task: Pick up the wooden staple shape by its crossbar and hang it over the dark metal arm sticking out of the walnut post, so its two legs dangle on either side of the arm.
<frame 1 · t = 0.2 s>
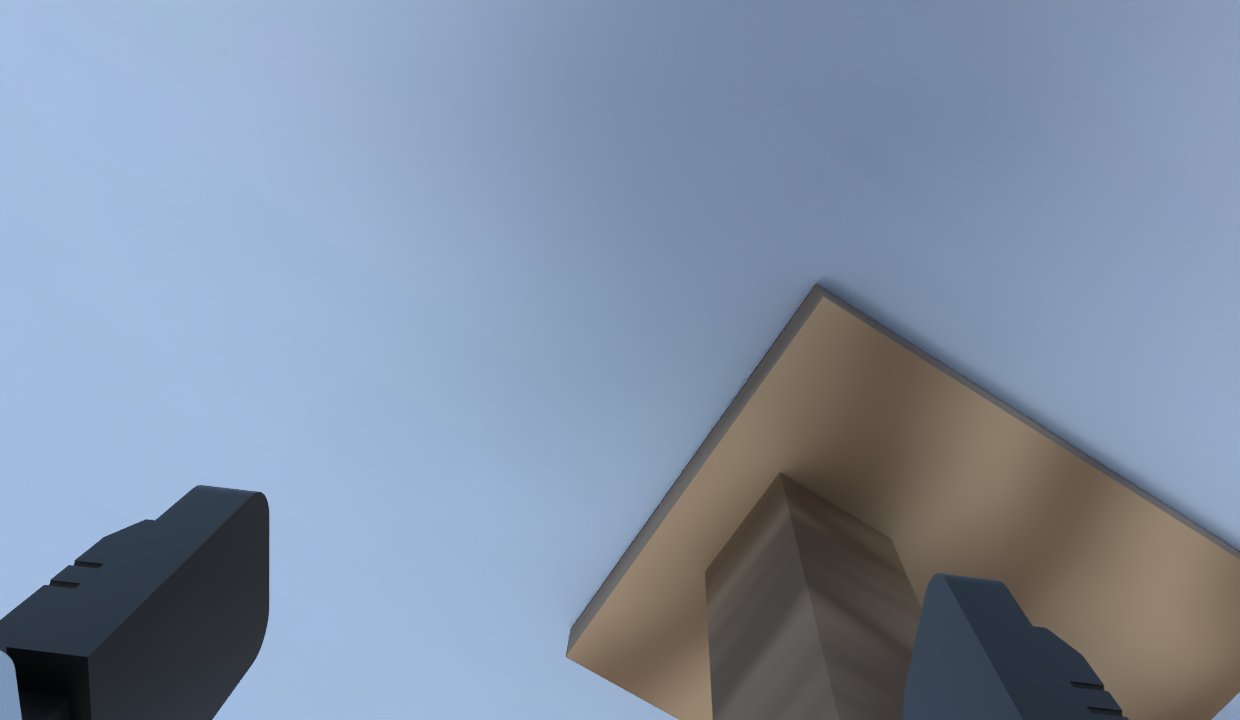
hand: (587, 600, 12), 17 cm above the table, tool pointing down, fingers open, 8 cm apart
hook stand: (791, 531, 30), on the table
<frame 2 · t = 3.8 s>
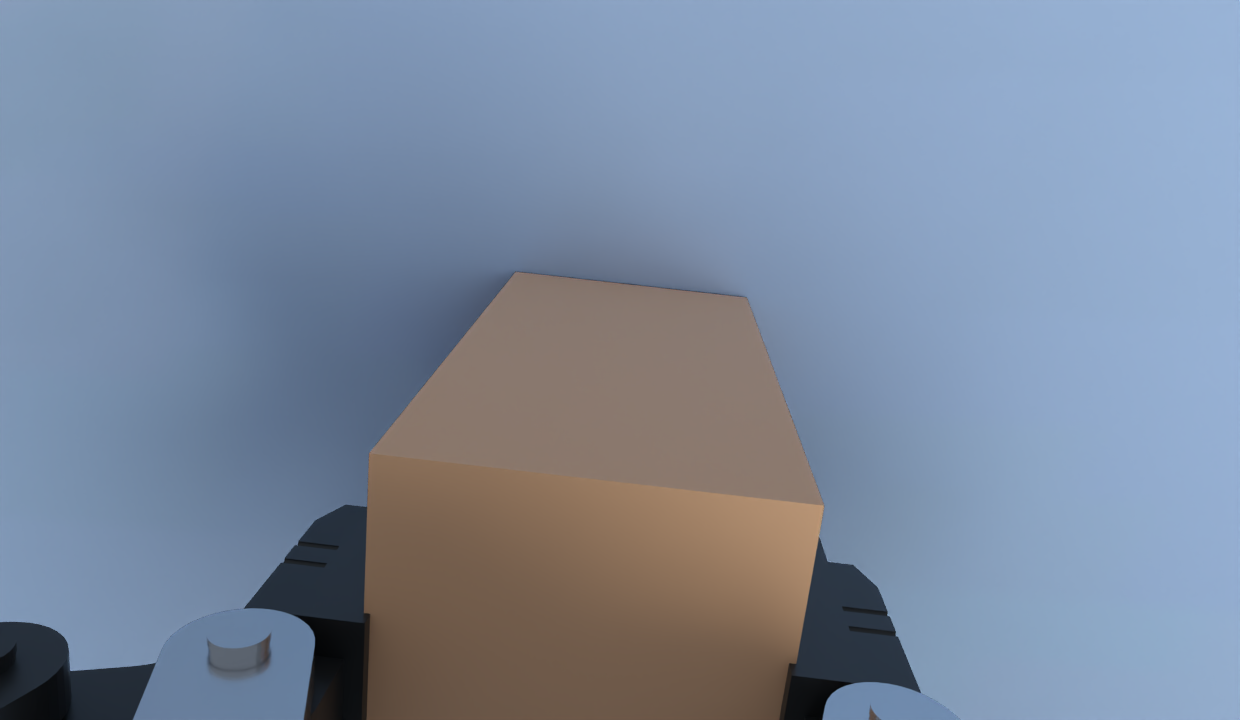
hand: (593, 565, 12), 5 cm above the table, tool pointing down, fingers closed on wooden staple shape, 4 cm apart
wooden staple shape: (597, 594, 18), on the table, touching gripper
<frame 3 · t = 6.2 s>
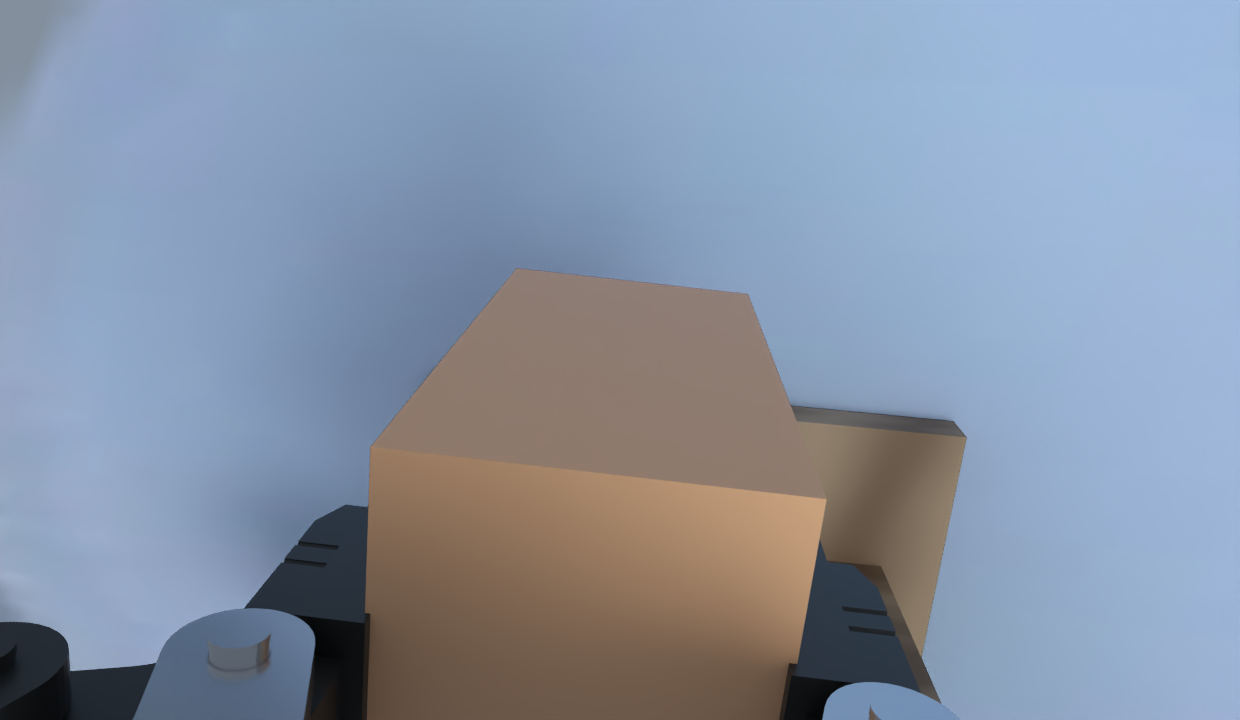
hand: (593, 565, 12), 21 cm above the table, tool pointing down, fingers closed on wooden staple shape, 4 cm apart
hook stand: (808, 588, 35), on the table
wooden staple shape: (598, 591, 18), point 16 cm above the table, touching gripper
when the fingers open (12 cm above the table, at t = 8.9 s): wooden staple shape stays where it is, resting on hook stand.
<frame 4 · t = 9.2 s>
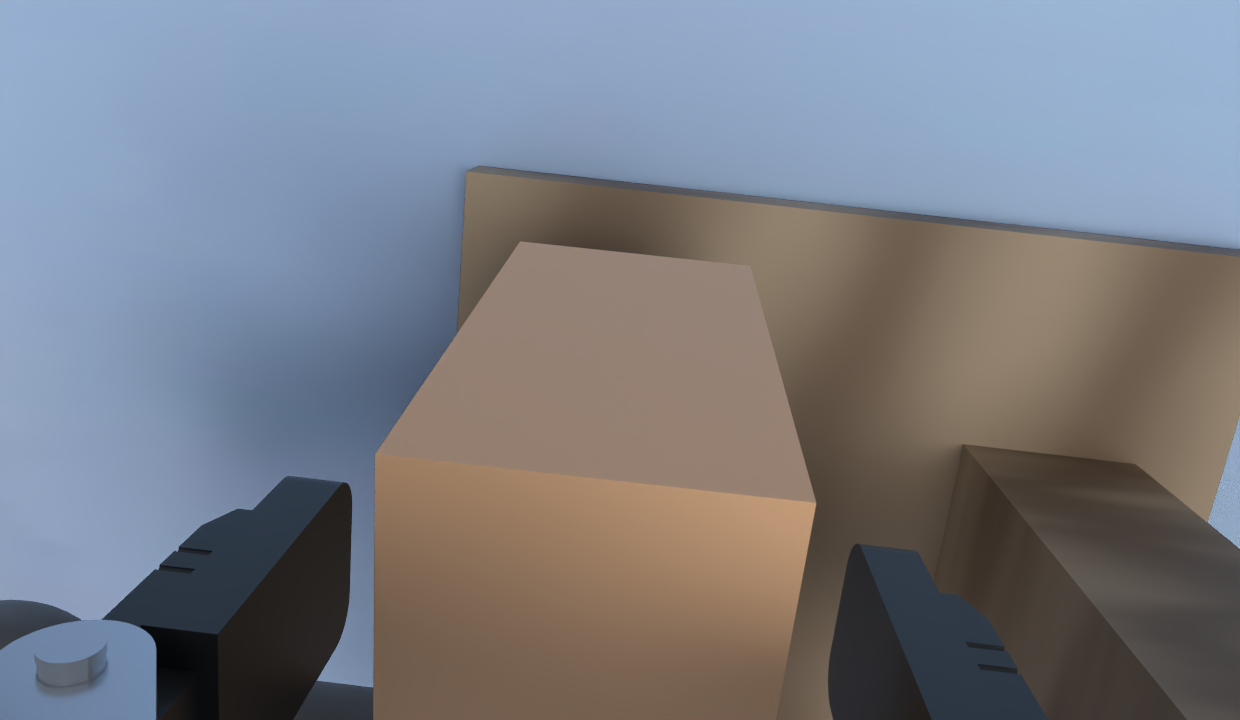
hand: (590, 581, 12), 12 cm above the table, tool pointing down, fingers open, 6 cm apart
hook stand: (1009, 505, 24), on the table
wooden staple shape: (604, 553, 19), point 6 cm above the table, touching hook stand
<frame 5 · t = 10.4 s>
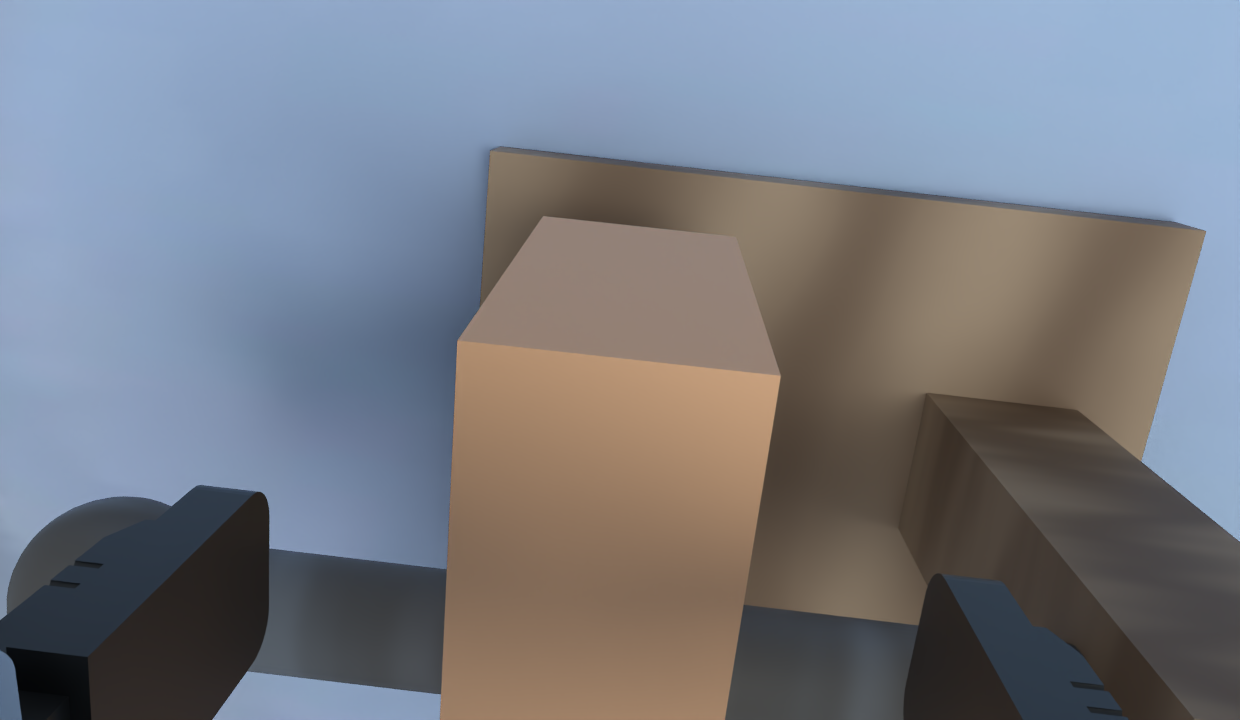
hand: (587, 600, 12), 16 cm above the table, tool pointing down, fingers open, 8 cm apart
hook stand: (969, 450, 28), on the table
wooden staple shape: (611, 487, 22), point 6 cm above the table, touching hook stand
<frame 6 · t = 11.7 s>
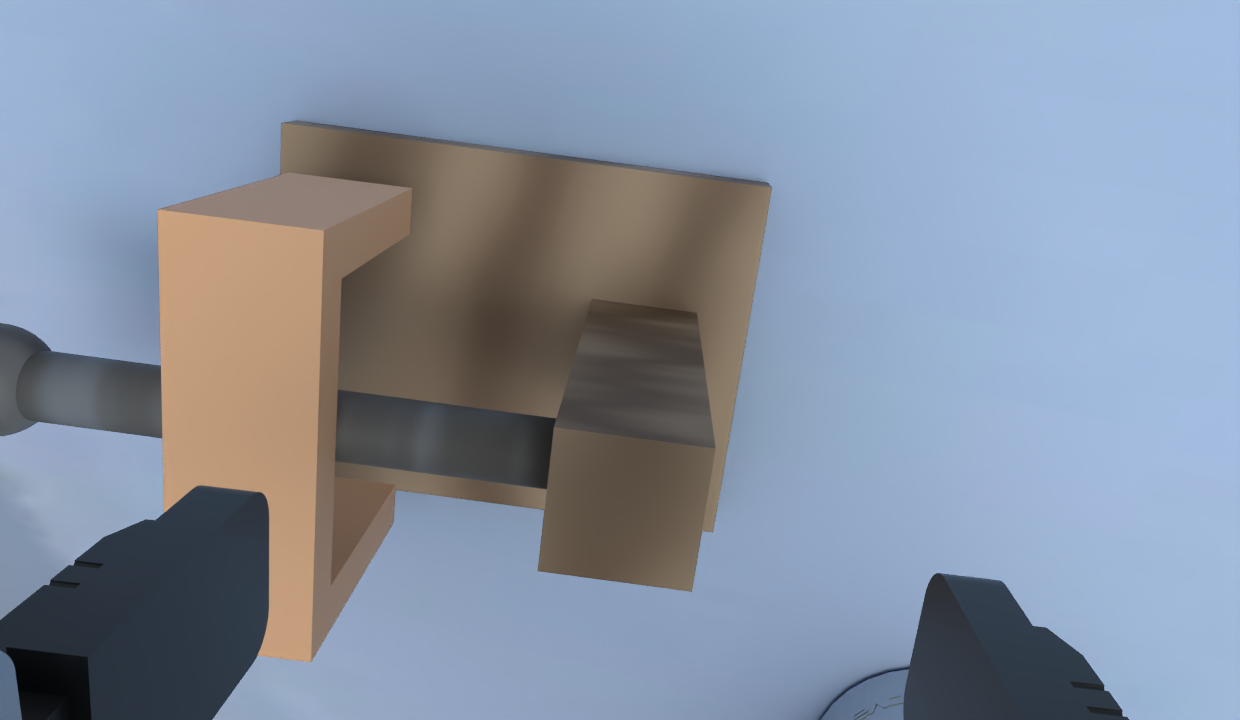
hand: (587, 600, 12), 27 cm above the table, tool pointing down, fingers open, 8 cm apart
hook stand: (638, 345, 39), on the table
wooden staple shape: (344, 356, 33), point 6 cm above the table, touching hook stand
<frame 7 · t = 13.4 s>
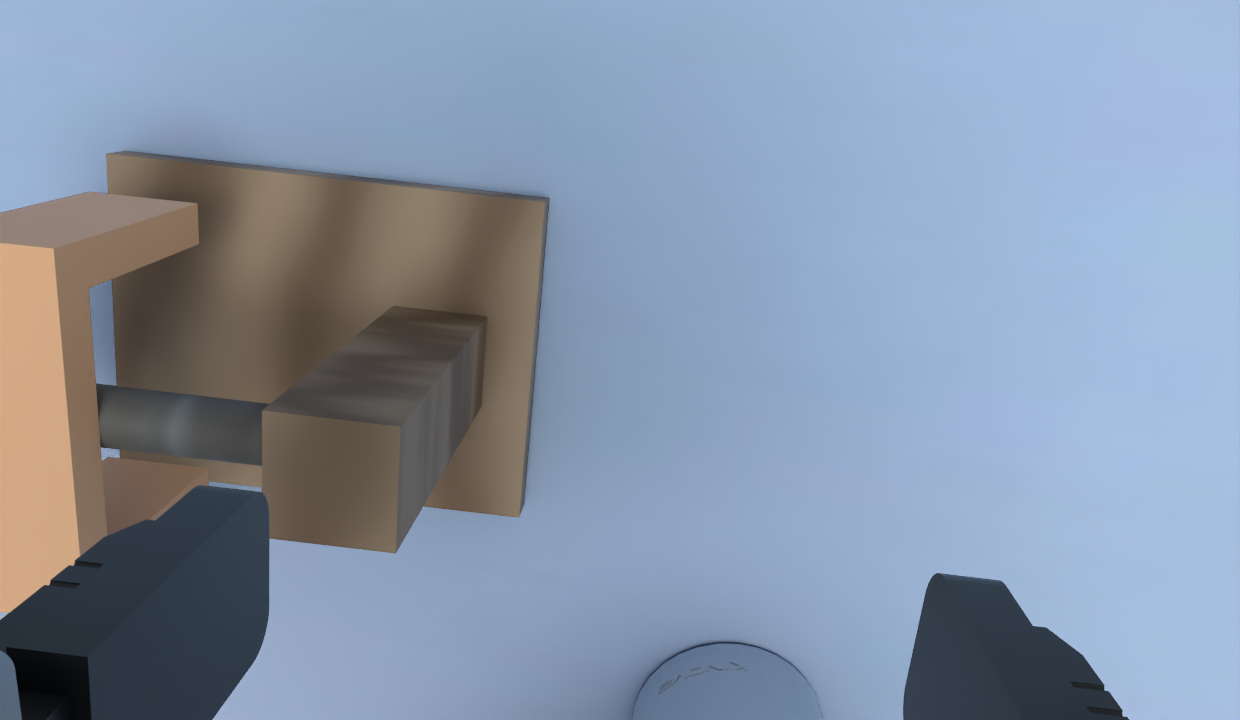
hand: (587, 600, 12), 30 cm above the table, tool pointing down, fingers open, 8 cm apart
hook stand: (445, 347, 42), on the table
wooden staple shape: (151, 354, 37), point 6 cm above the table, touching hook stand
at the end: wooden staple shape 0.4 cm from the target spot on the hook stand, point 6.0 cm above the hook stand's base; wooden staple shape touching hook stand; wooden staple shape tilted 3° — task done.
